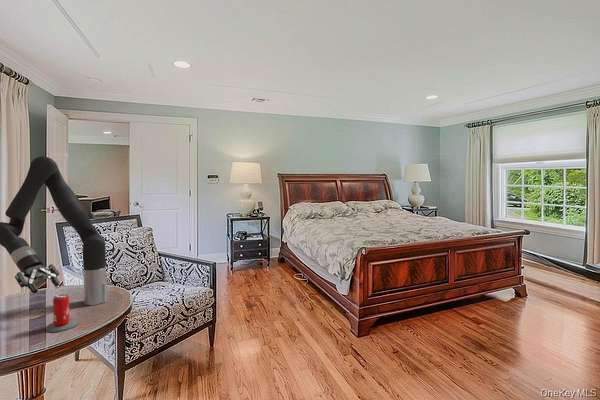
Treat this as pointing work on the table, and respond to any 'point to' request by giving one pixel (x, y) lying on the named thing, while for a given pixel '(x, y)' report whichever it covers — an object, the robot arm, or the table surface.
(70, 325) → the rubber mat
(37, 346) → the table surface
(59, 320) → the beverage can
